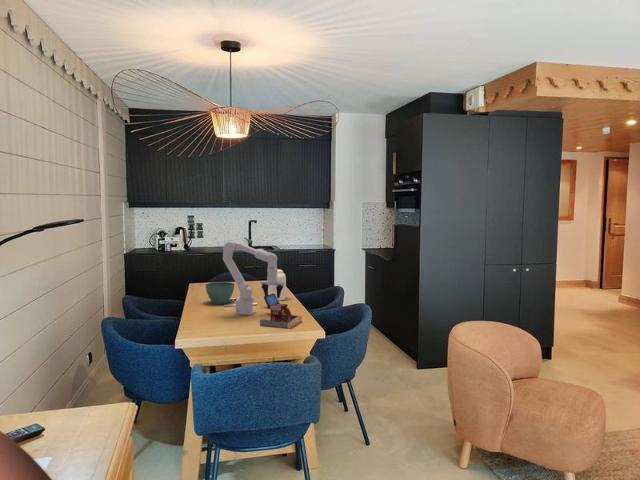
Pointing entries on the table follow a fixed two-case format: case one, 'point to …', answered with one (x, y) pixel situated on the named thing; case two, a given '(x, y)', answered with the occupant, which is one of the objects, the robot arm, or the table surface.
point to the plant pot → (220, 291)
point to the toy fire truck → (280, 313)
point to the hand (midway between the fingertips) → (272, 297)
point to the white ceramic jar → (272, 288)
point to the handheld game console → (272, 300)
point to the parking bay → (282, 322)
